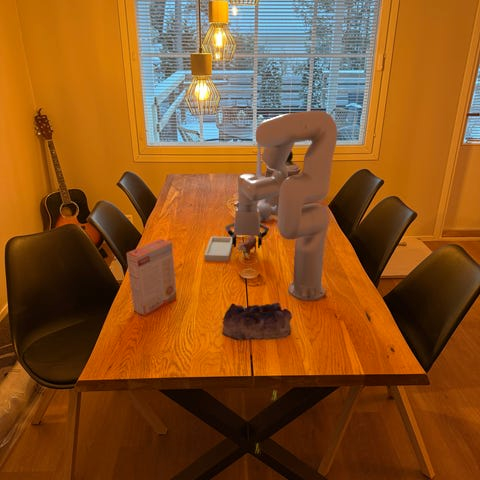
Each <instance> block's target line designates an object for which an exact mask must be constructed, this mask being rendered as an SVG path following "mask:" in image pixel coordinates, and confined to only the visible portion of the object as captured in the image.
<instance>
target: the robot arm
mask: <svg viewBox="0 0 480 480" xmlns="http://www.w3.org/2000/svg"><path fill="white" fill-rule="evenodd" d="M337 140H338V127H337V125H336V121H335V120H334V118H333V117H332V116H331V115H330V114H329V113H328V112H326V111H322V110H307V111H305V110H304V111H299V112H290V113H284V114H281V115H277V116H275V117H272V118H269V119H266V120H265V119H264V120H263V121H262V122H261V123H260V122H259V124H258V126H257V128H256V131H255V141H256V144H258V145H259V146H260V147H261V148H263V151H262V152H261V162H263V164H264V165H266V167H267V166H268V167H270V168H272V169H275V170H274V172H273V174H272V176H271V177H268V178H263V179H258V178H257V176H256V174H252V173H243V174H241V175H239V176H238V178H237V201H236V202H234V203H233V205H234V206H233V207H236V209H235V211H234V212H235V213H234V220H233V222H231V223H229V224H227V225H225V230H226V232H227V234H228V235H229V237H232V244H233V248H237V247H236V246H237V236H248V237H250V236H255V237H258V238H257V249H260V247H261V246H262V243H263V242H262V240H263V238H264V237H265V236H266V235H267V234H268V233H269V230H270V227H269V226H267V225H265V224H263V223H261V222H260V213H259V209H258V208H257V205H258V202H259V200H263V199H267V198H272V197H276V196H278V195H279V204H278V216H276V217H277V221H276V223H277V229H278V232H279V234H280V235H281V236H282V238H284V239H285V240H290V241H291V240H295V244H294V260H293V261H294V262H293V276H292V277H293V279H292V282H291V283H290V284H289V285H288V288H287V289H288V291H287V292H288V293H289V295H290V296H291V297H293V298H294V299H297V300H301V301H304V302H305V301H307V302H308V301H309V302H310V301H317V300H320V299H322V298H323V297H324V296H325V295H326V288H325V286H323V284H322V281H323V280H322V278H323V266H324V253H325V243H326V237H327V232H328V230H329V225H330V218H331V216H330V212H329V210H328V208H327V207H326V206H325V205H323V204H321V203H317V202H321V201H323V200H325V199H326V198H327V196H328V194H329V191H330V190H329V189H330V184H331V183H330V182H331V177H332V176H331V175H332V167H333V165H332V164H333V157H334V154H335V153H334V152H335V149H336V146H337ZM307 141H311V143H310V145H309V146H308V148H307V150H306V151H305V154H304V157H303V165H302V170H301V171H300V172H299V174H297V175H292V176H289V177H288V170H287V166H286V164H285V163H286V160H287V158H288V156H289V154H290V152H291V151H292V150H293V148H294V145H295V144H296V143H301V142H307ZM231 228H233V230H232V229H231ZM261 229H263V230H264V231H262V232H261Z"/></svg>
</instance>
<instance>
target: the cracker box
mask: <svg viewBox="0 0 480 480" xmlns="http://www.w3.org/2000/svg"><path fill="white" fill-rule="evenodd" d="M173 254H174V253H173V243H172V242H171V241H168V240H165V239H162V238H159V239H157V240H154V241H151V242H149V243H147V244H144V245H142V246H140V247H137V248H134V249H133V250H131V251H130V250H129V251H127V252H126V254H125V256H126V263H127V269H128V276H129V277H128V278H129V284H130V291H131V299H132V306H133V311H134V312H135V313H138V314H140V315H141V316H143V317H147V316H148V315H150V314H151V313H154V312H155V311H157V310H159V309H160V308H162V307H164V306H166V305H168V304H170V303H172V302H173V301H175V300H177V299H178V298H177V289H176V288H177V286H176V274H175V265H174V264H175V262H174V255H173Z"/></svg>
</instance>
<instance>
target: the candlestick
mask: <svg viewBox="0 0 480 480" xmlns="http://www.w3.org/2000/svg"><path fill="white" fill-rule="evenodd" d="M256 146H257V154H256V172H255V175H256V176H257V178H258V179H263V178H266V175H263V173H262V172H263V171H262V152H261V151H262V150H261V148H262V147H260V146H259V145H258V143H256Z"/></svg>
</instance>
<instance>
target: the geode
mask: <svg viewBox="0 0 480 480" xmlns="http://www.w3.org/2000/svg"><path fill="white" fill-rule="evenodd" d="M292 319H293V314H292V312H291V311H290V310H289V309H288V308H283V309H282V307H281V304H280V303H279V302H278V301H277V302H272V303H271V304H270V303H268V304H267V303H266V304H264V305H262V304H261V305H259V304H254V305H253V304H252V305H248V306H247V307H244V306H243V305H241V304H240V305H236V304H235V303H233V302H232V303H231V304H230V306H229V307H228V309H227V310H226V312H225V313H224V316H223V318H222V320H223V321H222V325H223V327H222V335H223V336H225V337H226V338H229V339H232V340H236V341H246V340H247V341H249V340H252V341H253V340H255V341H256V340H257V341H258V340H260V341H262V340H266V341H267V340H276V339H277V340H278V339H283V338H284V339H285V338H288V337H289V336H290V335H291V334H292V327H291V324H290V323H291V320H292Z"/></svg>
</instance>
